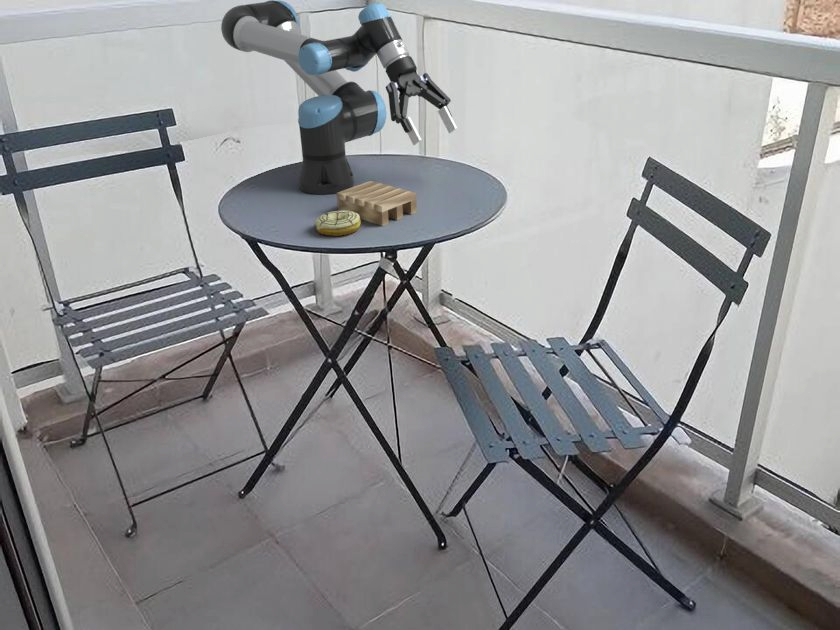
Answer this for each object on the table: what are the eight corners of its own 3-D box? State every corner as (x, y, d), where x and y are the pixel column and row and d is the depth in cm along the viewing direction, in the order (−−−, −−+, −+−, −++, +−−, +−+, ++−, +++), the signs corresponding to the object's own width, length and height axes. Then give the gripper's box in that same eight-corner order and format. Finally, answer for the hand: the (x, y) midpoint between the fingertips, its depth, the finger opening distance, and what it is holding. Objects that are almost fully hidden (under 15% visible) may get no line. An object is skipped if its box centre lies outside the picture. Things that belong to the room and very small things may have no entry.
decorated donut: (318, 223, 200) (317, 208, 198) (362, 221, 200) (361, 207, 198) (313, 239, 191) (312, 223, 189) (359, 237, 191) (358, 222, 189)
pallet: (338, 211, 206) (336, 192, 203) (372, 199, 213) (371, 180, 211) (382, 226, 196) (381, 206, 194) (416, 212, 204) (416, 193, 201)
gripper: (370, 62, 197) (410, 141, 197) (438, 47, 213) (475, 119, 213) (354, 78, 203) (393, 154, 203) (422, 62, 219) (458, 132, 219)
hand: (435, 136), depth 208 cm, fingers open, 13 cm apart
